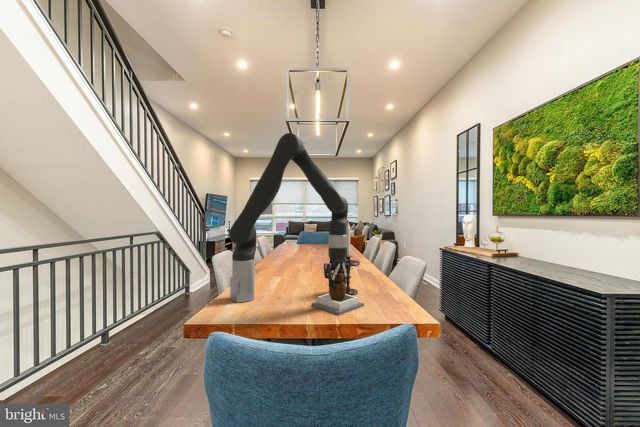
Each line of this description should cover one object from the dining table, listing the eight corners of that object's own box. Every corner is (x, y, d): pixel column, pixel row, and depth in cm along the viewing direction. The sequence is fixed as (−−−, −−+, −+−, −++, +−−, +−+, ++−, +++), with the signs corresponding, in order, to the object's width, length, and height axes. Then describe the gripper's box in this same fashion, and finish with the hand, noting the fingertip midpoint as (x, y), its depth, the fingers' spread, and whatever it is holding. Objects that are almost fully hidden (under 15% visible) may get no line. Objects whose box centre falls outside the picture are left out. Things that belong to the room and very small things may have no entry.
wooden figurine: (347, 298, 118) (347, 262, 118) (343, 303, 113) (344, 264, 113) (331, 297, 121) (331, 261, 120) (327, 301, 115) (327, 263, 115)
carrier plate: (339, 315, 106) (339, 305, 106) (311, 305, 117) (311, 296, 117) (364, 305, 117) (364, 297, 117) (336, 297, 127) (336, 289, 127)
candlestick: (333, 294, 132) (333, 217, 132) (340, 288, 142) (340, 217, 142) (356, 297, 128) (356, 218, 127) (362, 290, 138) (362, 217, 138)
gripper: (342, 243, 124) (342, 282, 124) (318, 246, 114) (318, 288, 114) (356, 245, 119) (356, 285, 119) (332, 248, 109) (332, 292, 109)
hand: (337, 287), depth 117 cm, fingers closed on wooden figurine, 6 cm apart
